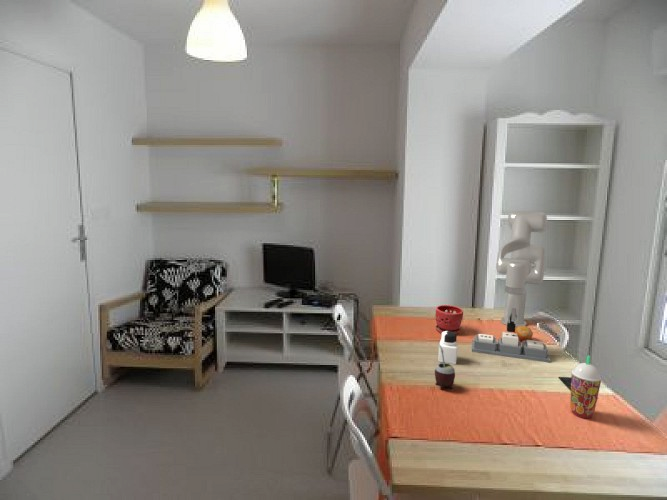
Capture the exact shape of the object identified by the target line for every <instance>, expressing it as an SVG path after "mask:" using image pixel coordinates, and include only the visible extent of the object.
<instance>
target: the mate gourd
mask: <svg viewBox="0 0 667 500" xmlns="http://www.w3.org/2000/svg"><path fill="white" fill-rule="evenodd" d="M437 344H438V347H439V346H440V348H441V353H442V359H443V362H439V363H438V364H437V366H436V367H435V369H434V378H435V383H434V384H435V386H438V387H440V388H439V389H440V390H441V391H443V390H445V389H449V390H453V386H454V383H455V378H456V372H455V368H454V366H452V364H450V363H445V362H444V355H443V350H442V347H441V345H440V341H437Z"/></svg>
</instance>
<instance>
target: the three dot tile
mask: <svg viewBox="0 0 667 500" xmlns="http://www.w3.org/2000/svg"><path fill="white" fill-rule="evenodd" d="M478 335H479V336H478V341H482V342H489V343H493V337H494V335H492V334H484V333H478Z"/></svg>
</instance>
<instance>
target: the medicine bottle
mask: <svg viewBox="0 0 667 500" xmlns="http://www.w3.org/2000/svg"><path fill="white" fill-rule="evenodd" d="M457 337H458V336H457V334H456V333H454V332H452V331H444V332H442V333H441V339H440V341H439V343H440V345H441V347H442V350H443V355H444V362H445V363H447V364H450V365H456V364H457V359H458V348H459V347H458V345H459V342H458V341H457ZM437 357H438V358H437V359H438V360H437V362H439V363H443V359H442V353H441V348H440V346H439V345H438V356H437Z"/></svg>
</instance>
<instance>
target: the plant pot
mask: <svg viewBox="0 0 667 500" xmlns="http://www.w3.org/2000/svg"><path fill="white" fill-rule="evenodd" d="M454 312H455V313H454ZM463 317H464V310H463V308H460V307H458V306H454V305H449V304H441V305H438V306H436V307H435V322H436V325H435V330H436V331H437V332H439V333H441V334H442V332H444V331H452V332H454V333H456V335H457V334H458V333H460V331H461V330H460V326H461V325H462V322H463V319H464V318H463Z"/></svg>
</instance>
